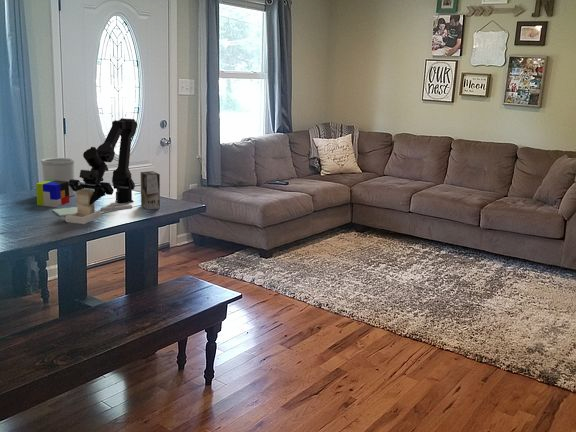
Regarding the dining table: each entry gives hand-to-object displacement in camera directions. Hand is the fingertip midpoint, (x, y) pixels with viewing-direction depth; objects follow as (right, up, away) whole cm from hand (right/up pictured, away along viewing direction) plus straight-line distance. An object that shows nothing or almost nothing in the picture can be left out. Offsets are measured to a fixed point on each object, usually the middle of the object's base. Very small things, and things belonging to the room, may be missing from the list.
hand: (83, 203), depth 249 cm
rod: (+8, -3, +20) cm, 22 cm away
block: (0, -6, +3) cm, 7 cm away
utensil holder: (-27, +5, +43) cm, 51 cm away
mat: (-10, -4, +11) cm, 15 cm away
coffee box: (+22, -1, +27) cm, 34 cm away
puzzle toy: (-23, 0, +25) cm, 34 cm away
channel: (0, -6, +1) cm, 7 cm away
